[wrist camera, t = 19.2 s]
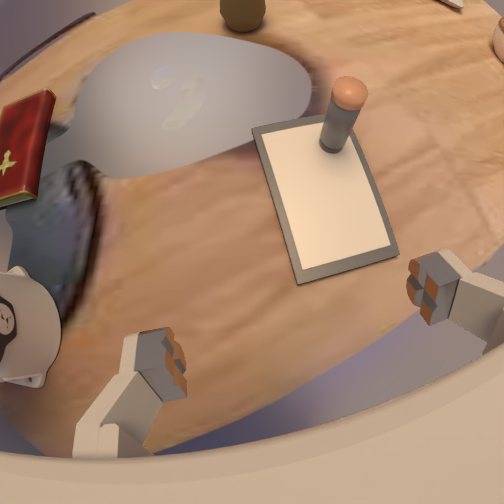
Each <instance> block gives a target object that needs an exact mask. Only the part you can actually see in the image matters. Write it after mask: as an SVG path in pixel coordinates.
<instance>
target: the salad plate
mask: <svg viewBox="0 0 504 504" xmlns="http://www.w3.org/2000/svg"><path fill="white" fill-rule="evenodd" d="M440 1H442V2H444V3H446V4H448V5H450V6H453V7H456V8H463V1H462V0H440Z"/></svg>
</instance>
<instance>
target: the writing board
mask: <svg viewBox="0 0 504 504" xmlns="http://www.w3.org/2000/svg"><path fill="white" fill-rule="evenodd" d="M325 116H326V114H322V115H316V116H310V117H304V118H299V119H293V120H289V121H283V122H279V123H273V124H269V125H264V126H259V127H255V128H252V134H253V137H254V141H255V144H256V147H257V150H258V153H259V157H260V160H261V163H262V166H263V170H264V173H265V176H266V179H267V183H268V186H269V189H270V193H271V196H272V199H273V203H274V206H275V209H276V213H277V216H278V220H279V223H280V226H281V230H282V233H283V237H284V240H285V244H286V247H287V251H288V254H289V258H290V261H291V265H292V268H293V272H294V276H295V279H296V283H297V285H299V284H303V283H306V282H310V281H313V280H317V279H321V278H324V277H328V276H331V275H335V274H338V273H341V272H345V271H348V270H352V269H355V268H358V267H362V266H365V265H368V264H372V263H375V262H378V261H382V260H385V259H388V258H391V257H395V256H398V255H400V253H399V250H398V246H397V243H396V240H395V237H394V234H393V231H392V228H391V225H390V222H389V219H388V216H387V213H386V211H385V208H384V205H383V202H382V200H381V197H380V194H379V191H378V189H377V186H376V184H375V181H374V178H373V176H372V173H371V171H370V168H369V166H368V163H367V161H366V159H365V156H364V154H363V151H362V149H361V147H360V144H359V142H358V140H357V138H356V135H355V133H354V131H353V129H352V130H351V132H350V135H349V137H348V139H347V141H346V143H345V145H344V146H343V148H342V150H341V151H340V152H338V153H334V154H332V153H328V152H326V151H324V150H323V149H322V148H321V146H320V144H319V139H320V133H321V130H322V126H323V123H324V120H325Z"/></svg>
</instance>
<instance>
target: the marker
mask: <svg viewBox="0 0 504 504" xmlns="http://www.w3.org/2000/svg"><path fill="white" fill-rule="evenodd" d="M367 97H368V90H367V87H366V86H365V85H364V84H363V83H362V82H361V81H360V80H358V79H356V78H353V77H349V76H344V77H340V78H338V79H337V80H336V81H335V82H334V86H333V89H332V93H331V99H330V103H329V106H328V110H327V113H326V116H325V120H324V123H323V126H322V130H321V133H320V139H319V144H320V146H321V148H322V149H323V150H324V151H326V152H328V153H332V154H334V153H338V152H340V151H341V150H342V148H343V146H344V145H345V143H346V141H347V139H348V137H349V135H350V132H351V130H352V128H353V126H354V124H355V121H356V119H357V117H358V115H359V112H360V110H361V108H362V107H363V105H364V103H365V101H366V99H367Z"/></svg>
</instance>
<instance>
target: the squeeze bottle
mask: <svg viewBox="0 0 504 504" xmlns="http://www.w3.org/2000/svg"><path fill="white" fill-rule="evenodd" d="M265 10H266V7H265V0H220V13H221V15H222V17H223V18H224V20H225V21H226V23H227V24H228V26H229V28H231V29H232V30H234V31H238V32H247V31H251V30H254V29H256V28H257V27H258V26H259V25H260V22H261V20H262V18H263V16H264V14H265Z"/></svg>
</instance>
